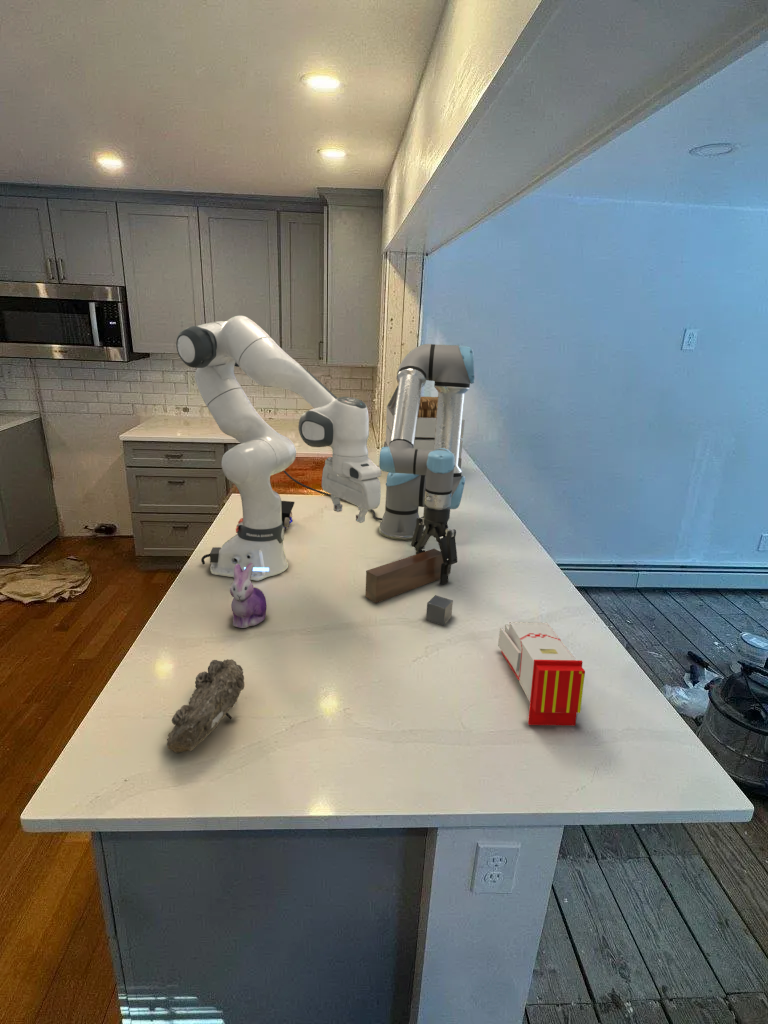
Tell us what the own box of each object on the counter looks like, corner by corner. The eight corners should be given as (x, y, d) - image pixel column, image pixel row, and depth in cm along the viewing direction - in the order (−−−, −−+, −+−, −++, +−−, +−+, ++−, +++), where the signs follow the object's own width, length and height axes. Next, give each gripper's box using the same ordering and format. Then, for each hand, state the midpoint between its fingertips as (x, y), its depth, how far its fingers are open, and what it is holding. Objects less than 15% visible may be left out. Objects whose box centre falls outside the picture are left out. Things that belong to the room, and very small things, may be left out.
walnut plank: (365, 596, 155) (366, 570, 153) (432, 572, 172) (434, 548, 169) (375, 603, 152) (376, 576, 150) (442, 578, 169) (445, 553, 166)
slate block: (425, 620, 145) (427, 602, 144) (433, 611, 149) (435, 594, 148) (443, 625, 143) (445, 608, 141) (451, 617, 147) (453, 600, 145)
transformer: (382, 463, 289) (386, 382, 275) (445, 464, 293) (451, 384, 279) (390, 482, 257) (394, 392, 243) (460, 483, 261) (468, 394, 247)
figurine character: (290, 537, 196) (295, 517, 209) (289, 518, 192) (295, 499, 206) (270, 536, 195) (277, 517, 209) (269, 517, 192) (276, 498, 206)
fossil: (192, 660, 117) (244, 628, 112) (224, 691, 120) (276, 661, 115) (142, 746, 98) (202, 712, 93) (182, 779, 101) (242, 748, 96)
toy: (544, 607, 134) (594, 667, 105) (539, 659, 137) (586, 732, 108) (493, 606, 134) (529, 666, 105) (489, 658, 137) (523, 731, 107)
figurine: (235, 633, 135) (232, 576, 130) (225, 613, 144) (222, 559, 139) (273, 625, 139) (272, 570, 134) (262, 606, 148) (260, 553, 143)
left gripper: (315, 456, 146) (315, 507, 151) (365, 475, 132) (363, 530, 136) (335, 453, 150) (335, 502, 155) (386, 471, 136) (383, 525, 140)
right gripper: (401, 497, 166) (397, 566, 174) (457, 519, 151) (450, 594, 158) (419, 493, 171) (415, 561, 179) (475, 514, 155) (467, 587, 163)
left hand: (348, 516), depth 145 cm, fingers open, 8 cm apart
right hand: (431, 576), depth 168 cm, fingers open, 9 cm apart
